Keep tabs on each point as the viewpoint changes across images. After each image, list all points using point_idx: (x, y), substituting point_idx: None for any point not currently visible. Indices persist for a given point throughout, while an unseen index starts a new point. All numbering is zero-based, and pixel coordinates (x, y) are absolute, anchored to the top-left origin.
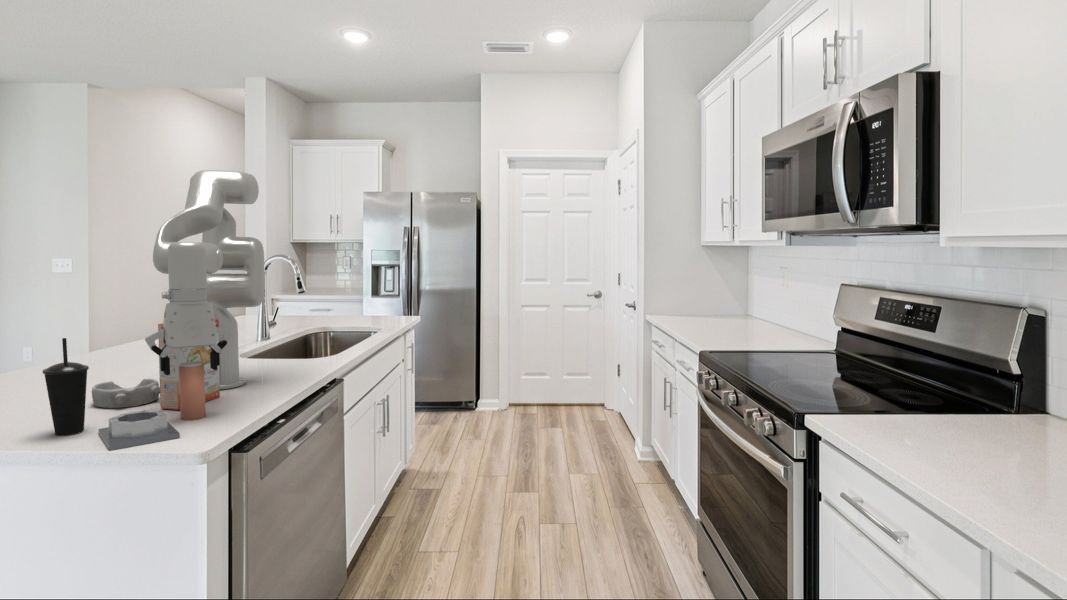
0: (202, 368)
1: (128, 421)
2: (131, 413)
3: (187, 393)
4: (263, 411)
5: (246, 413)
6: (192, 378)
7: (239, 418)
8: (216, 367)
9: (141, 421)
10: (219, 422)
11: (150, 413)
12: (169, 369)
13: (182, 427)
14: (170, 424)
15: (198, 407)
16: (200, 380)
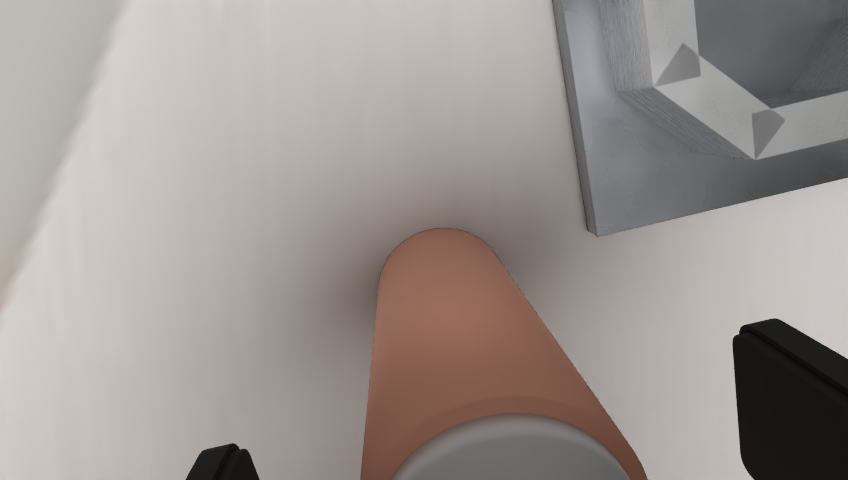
0: (374, 450)
1: (817, 89)
2: (836, 106)
3: (499, 284)
4: (45, 244)
5: (148, 241)
6: (479, 330)
7: (184, 136)
8: (206, 460)
9: None
10: (300, 94)
11: (723, 77)
12: (781, 361)
13: (502, 79)
14: (573, 68)
15: (416, 254)
16: (401, 346)
